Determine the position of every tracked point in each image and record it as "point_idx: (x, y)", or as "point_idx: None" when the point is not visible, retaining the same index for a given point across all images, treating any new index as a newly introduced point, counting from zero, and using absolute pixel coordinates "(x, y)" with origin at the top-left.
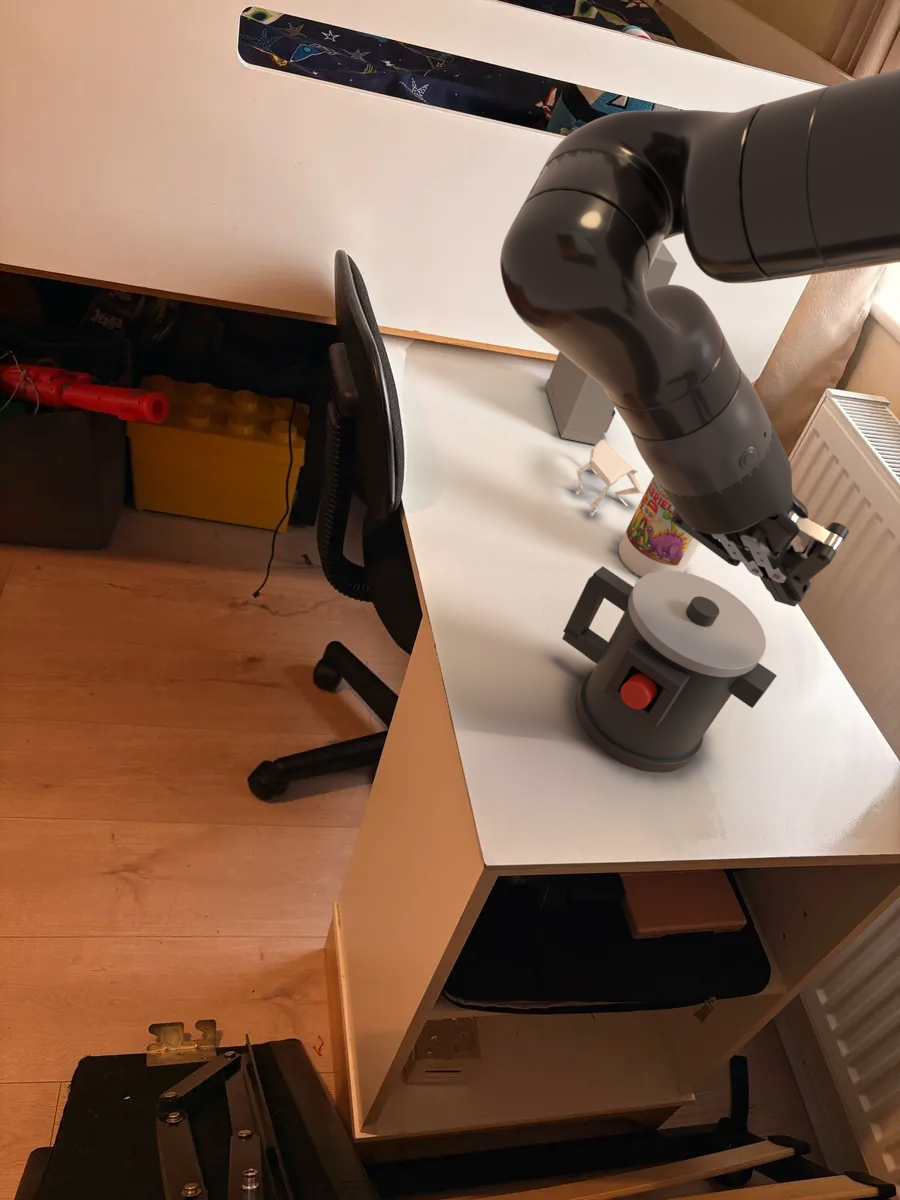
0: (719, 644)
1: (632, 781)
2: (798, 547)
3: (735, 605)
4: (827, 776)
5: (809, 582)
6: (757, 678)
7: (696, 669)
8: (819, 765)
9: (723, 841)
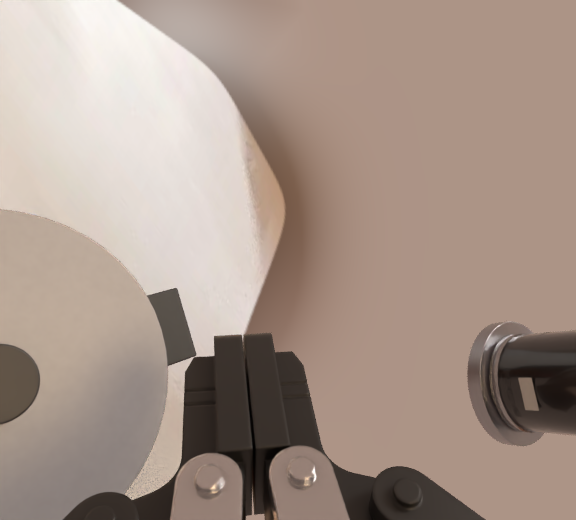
0: (93, 404)
1: None
2: (344, 504)
3: (6, 241)
4: (195, 173)
5: (304, 372)
6: (167, 338)
7: None
8: (179, 166)
9: None
